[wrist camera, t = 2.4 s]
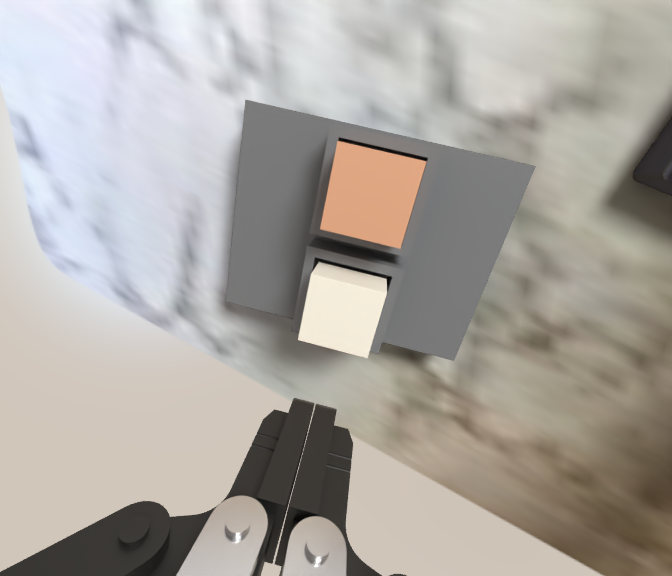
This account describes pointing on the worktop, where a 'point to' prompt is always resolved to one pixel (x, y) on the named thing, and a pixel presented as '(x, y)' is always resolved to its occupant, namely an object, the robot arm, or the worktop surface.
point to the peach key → (371, 194)
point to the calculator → (657, 163)
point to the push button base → (360, 255)
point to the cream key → (342, 309)
